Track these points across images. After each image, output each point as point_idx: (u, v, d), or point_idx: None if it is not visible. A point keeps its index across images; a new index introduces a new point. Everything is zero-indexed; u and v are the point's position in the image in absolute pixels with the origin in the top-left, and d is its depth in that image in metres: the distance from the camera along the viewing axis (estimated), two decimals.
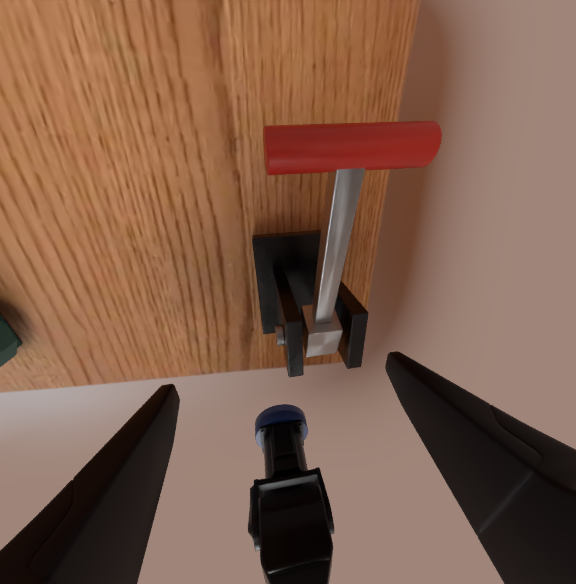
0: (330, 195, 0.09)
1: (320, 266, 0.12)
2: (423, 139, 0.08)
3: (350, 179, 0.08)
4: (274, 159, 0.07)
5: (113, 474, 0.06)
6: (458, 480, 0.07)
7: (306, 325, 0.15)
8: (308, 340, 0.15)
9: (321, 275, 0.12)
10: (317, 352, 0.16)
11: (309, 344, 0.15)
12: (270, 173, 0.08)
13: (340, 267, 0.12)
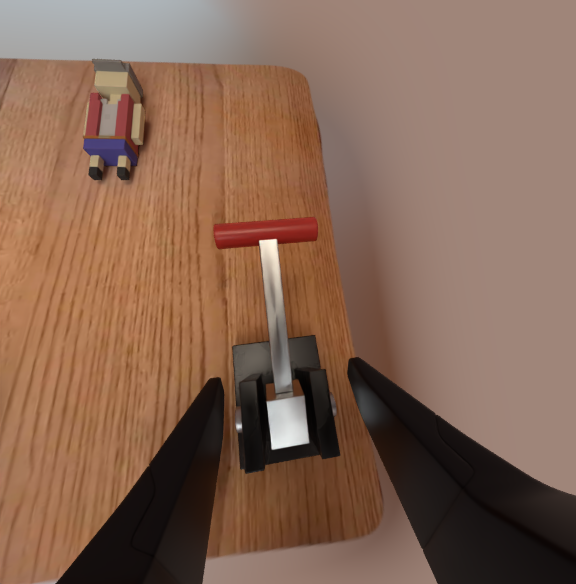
0: None
1: (267, 319, 0.14)
2: (305, 221, 0.14)
3: (269, 245, 0.13)
4: (218, 234, 0.13)
5: (187, 461, 0.06)
6: (405, 491, 0.07)
7: (266, 396, 0.14)
8: (268, 413, 0.13)
9: (268, 326, 0.14)
10: (284, 440, 0.13)
11: (271, 421, 0.13)
12: (217, 244, 0.13)
13: (282, 316, 0.14)
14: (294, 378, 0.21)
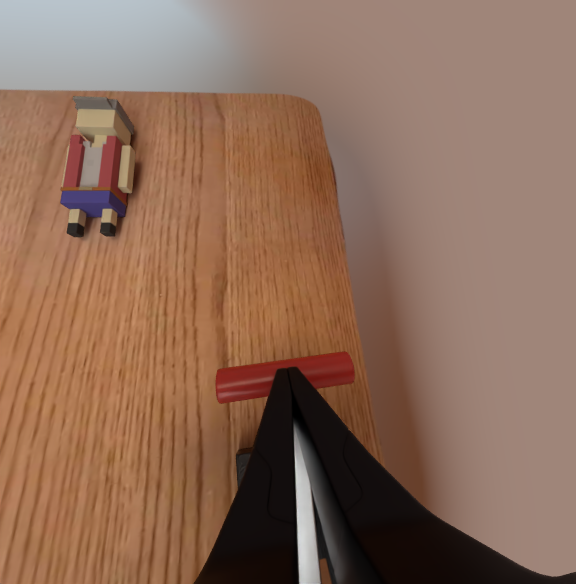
0: None
1: None
2: (338, 365, 0.10)
3: None
4: (221, 392, 0.10)
5: (288, 442, 0.06)
6: (320, 510, 0.07)
7: None
8: None
9: None
10: None
11: None
12: (220, 402, 0.10)
13: (308, 497, 0.10)
14: None
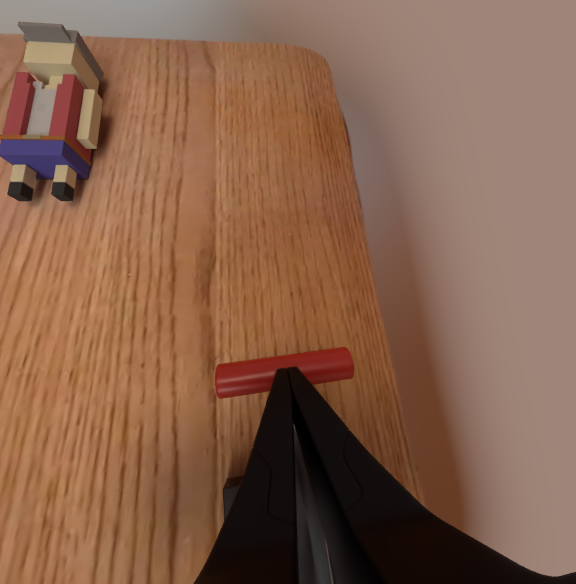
0: None
1: None
2: (335, 354, 0.10)
3: None
4: (220, 379, 0.10)
5: (288, 442, 0.06)
6: (320, 510, 0.07)
7: None
8: None
9: None
10: None
11: None
12: (218, 393, 0.10)
13: (318, 523, 0.08)
14: None
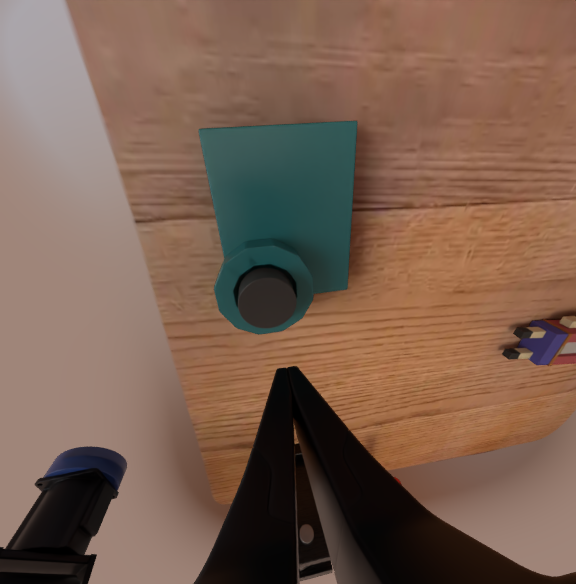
0: None
1: None
2: None
3: None
4: None
5: (288, 442, 0.06)
6: (320, 510, 0.07)
7: None
8: None
9: None
10: None
11: None
12: None
13: None
14: None
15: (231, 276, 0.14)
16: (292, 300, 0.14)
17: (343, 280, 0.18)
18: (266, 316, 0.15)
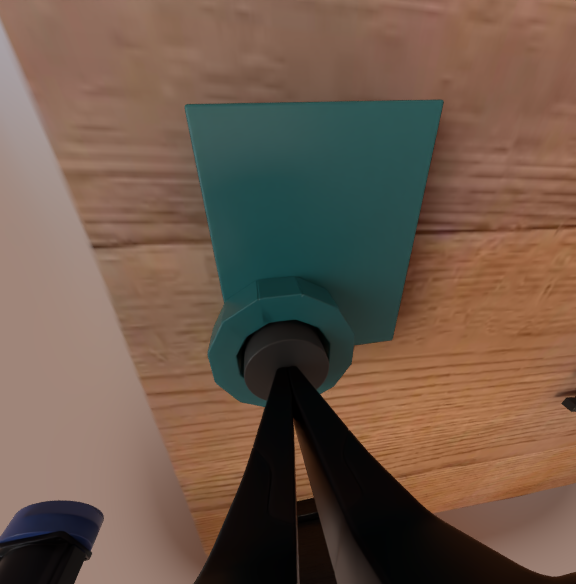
0: None
1: None
2: None
3: None
4: None
5: (288, 442, 0.06)
6: (320, 510, 0.07)
7: None
8: None
9: None
10: None
11: None
12: None
13: None
14: None
15: (234, 337, 0.09)
16: (323, 367, 0.10)
17: (388, 329, 0.13)
18: None
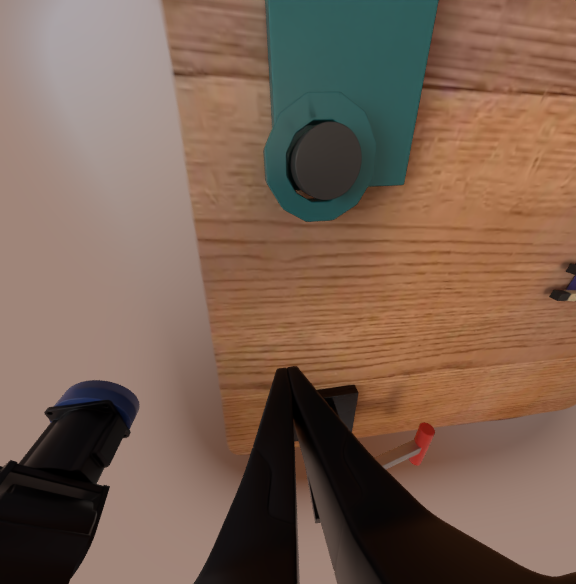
0: (411, 448, 0.25)
1: (383, 461, 0.24)
2: None
3: (417, 452, 0.25)
4: (431, 436, 0.24)
5: (288, 442, 0.06)
6: (320, 510, 0.07)
7: None
8: None
9: (382, 465, 0.24)
10: None
11: None
12: (426, 435, 0.24)
13: (385, 468, 0.24)
14: None
15: (286, 132, 0.12)
16: (357, 161, 0.12)
17: (401, 171, 0.16)
18: (325, 181, 0.13)
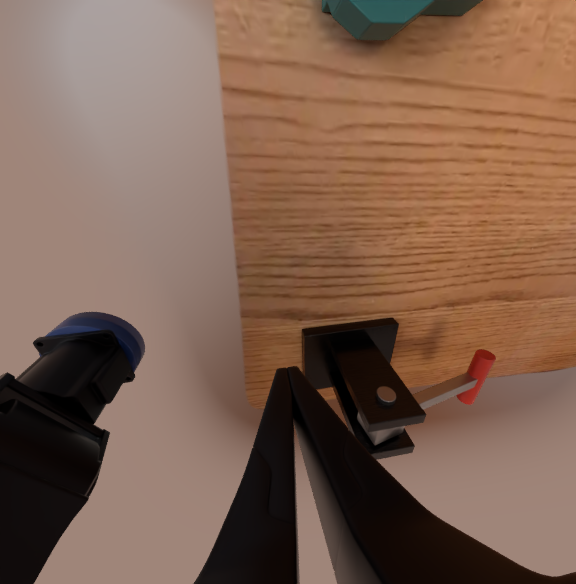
0: (466, 380, 0.21)
1: (436, 392, 0.20)
2: (475, 398, 0.23)
3: (473, 384, 0.22)
4: (492, 362, 0.20)
5: (288, 442, 0.06)
6: (320, 510, 0.07)
7: None
8: None
9: (436, 396, 0.20)
10: (381, 433, 0.18)
11: None
12: (486, 360, 0.20)
13: (438, 402, 0.21)
14: None
15: None
16: None
17: None
18: None
